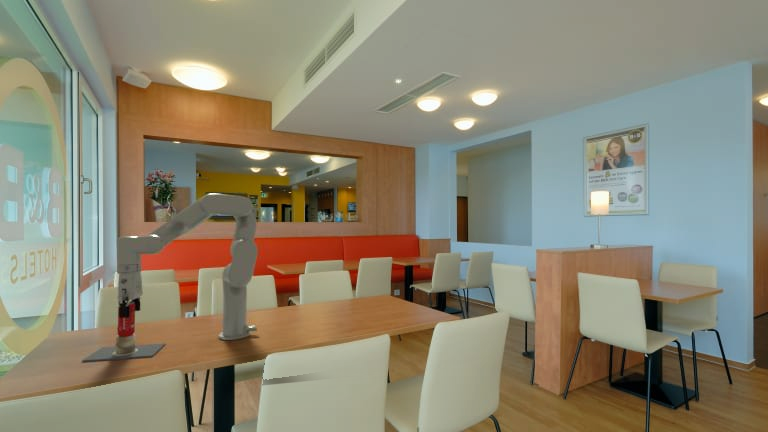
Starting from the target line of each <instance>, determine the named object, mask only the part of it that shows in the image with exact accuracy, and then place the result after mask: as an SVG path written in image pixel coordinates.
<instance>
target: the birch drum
mask: <svg viewBox="0 0 768 432" xmlns="http://www.w3.org/2000/svg"><path fill="white" fill-rule="evenodd" d="M135 345H136V333H134V334H133V335H132V336H129V337H119V335H118V334H117V335H116V336H115V347H116V354H117V355H123V354H129V353H132V352H134V351H135Z"/></svg>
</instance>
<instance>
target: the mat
mask: <svg viewBox="0 0 768 432" xmlns="http://www.w3.org/2000/svg"><path fill="white" fill-rule="evenodd" d="M165 346H166V343H165V342H162V343H151V344H150V343H149V344H135V351H134V352H132V353H129V354H123V355H117V354H116V346H105V347H101V348H99V349H98V350H96V351H94V352H93V353H91V354H90V355H88V356H86V357H85V358H84V359H82V360H81V363H88V362H89V363H90V362H91V363H92V362H102V361H104V362H105V361H116V360H127V359H128V360H129V359H130V360H131V359H142V358H153V357H154V356H155V355H156V354H157V353H159V351H161V350H162V349H163V347H165Z"/></svg>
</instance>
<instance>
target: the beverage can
mask: <svg viewBox="0 0 768 432" xmlns="http://www.w3.org/2000/svg"><path fill="white" fill-rule="evenodd" d="M128 306H130V317H125V318H120V317H119V305H118V306H117V336H118V335H119V337H129V336H132V335H133V334H135V331H136V330H135V327H136V325H135V324H136V321H135V320H136V311H135V304H134V302H129V305H128Z"/></svg>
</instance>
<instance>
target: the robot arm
mask: <svg viewBox="0 0 768 432" xmlns="http://www.w3.org/2000/svg"><path fill="white" fill-rule="evenodd" d="M253 205H254V204H253V203H252V201H251V199H249V198H248V197H245V196H243V195H234V194H233V195H231V194H222V193H207V194H205V195H203V196H202V197H199V198H198V199H197V200H196V201H194V202H193V203H191V204H190V205H189V206H187V207H186V208H184V209H182V210H180V212H178V213H177V214H175V215H174V216H172V217H171V218H170V219H169V220H168V221H166V222H165V223H164V224H162V225H160V226H159V227H157V228H156V229H154V230H153V231H152V232H151V233H148V234H147V235H144V236H142V235H141V236H137V235H130V236H129V235H128V236H127V235H126V236H119V237H118V238H117V239H116V270H117V271H116V272H117V274H118V283H117V287H118V288H117V292H118V293H117V294H118V295H117V299H118V300H117V301H118V306H119V317H120V318H125V317H130V306H128V305H129V302H134V304H135V312H139V311H141V296H143V281H142V274H141V272H142V255H157V254H159V253H161V252H162V251H163V250H164V248H165V247H166V246H168V245H169V244H170V243H172V242H173V241H174V240H176V239H178V238H179V237H181V236H183V235H186V234H187V233H189V232H191V231H193V230H194V229H196V228H197V227H198V226H200V225H201V224H203V223H204V222H206V221H207V220H209V219H210V218H211V217H212V216H214V215H219V216H233V218H234V220H235V229H234V235H233V239H232V242H231V244H230V249H229V252H230V255H231V256H232V257H231V262H230V263H229V264H227V265H226V266H225V267H224V269H223V271H222V275H221V277H222V280H221V281H222V293H223V294H222V331H221V332H220V333H219V334H218V338H219V339H220V340H224V341H236V340H242V339H245V338H247V337H249V336H250V335H251V332H258V326H257V325H256V326H255V325H248V322H247V307H248V306H247V300H248V299H247V298H248V291H247V289H248V288H247V285H248V284H249V283H250V282H251V280H252V277H253V274H254V271H255V266H256V264H257V263H256V262H257V257H258V245H257V244H256V242H255V241H254V240H255V236H256V232H257V224H258V223H257V217H256V215H255V213H254V211H253V209H254V206H253Z"/></svg>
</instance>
